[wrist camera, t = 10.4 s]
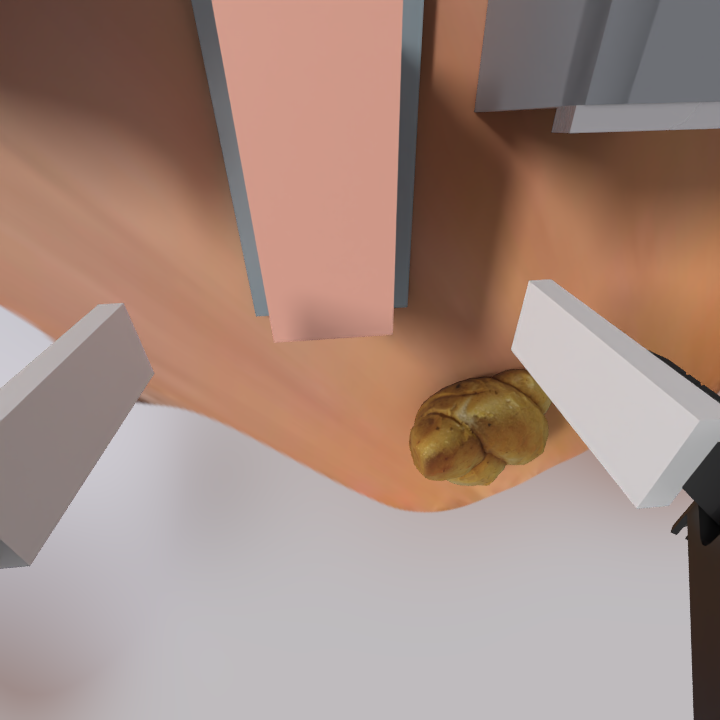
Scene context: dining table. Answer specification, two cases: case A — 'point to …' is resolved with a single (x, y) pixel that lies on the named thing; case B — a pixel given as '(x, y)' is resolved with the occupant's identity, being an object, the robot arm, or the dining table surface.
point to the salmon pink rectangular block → (318, 156)
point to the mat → (231, 155)
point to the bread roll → (480, 428)
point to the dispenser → (604, 63)
